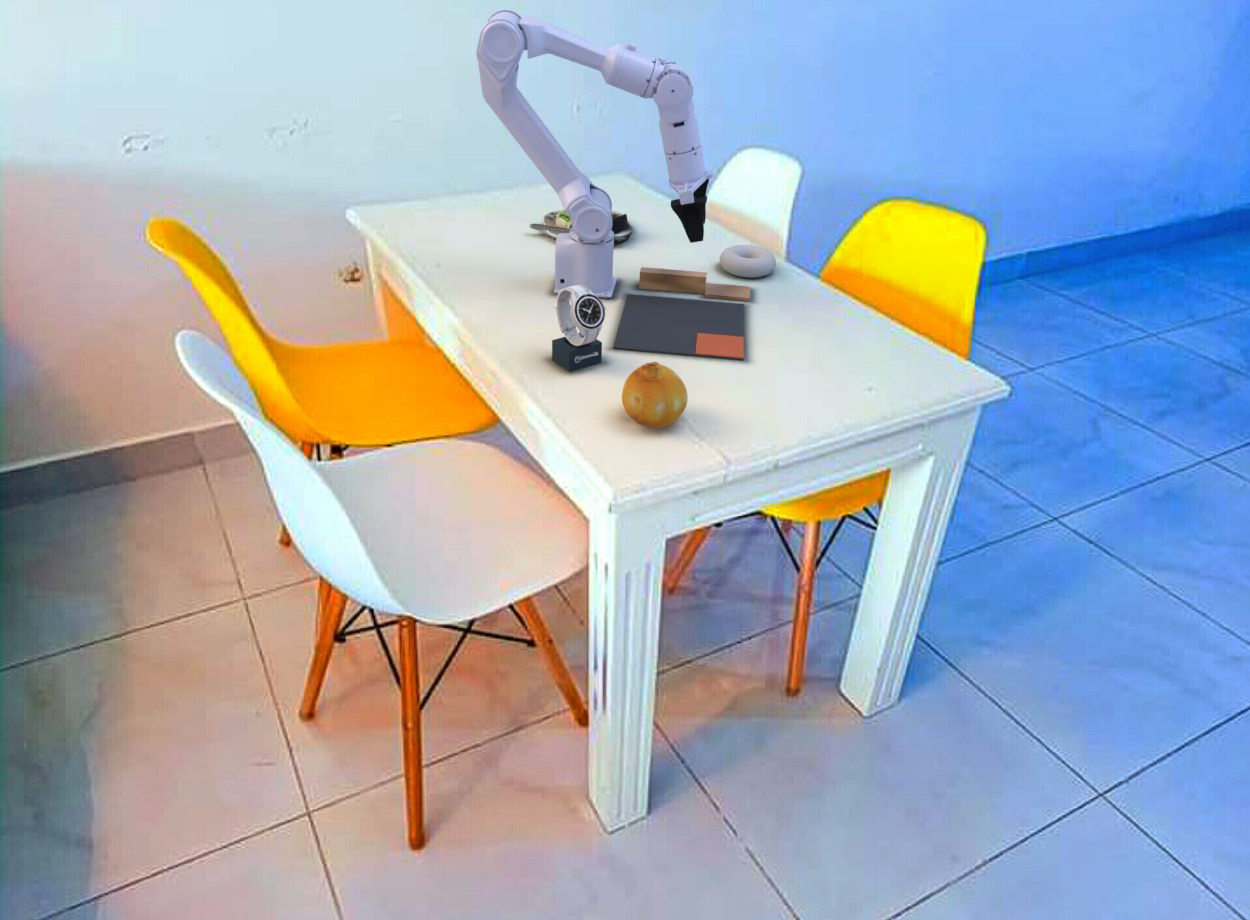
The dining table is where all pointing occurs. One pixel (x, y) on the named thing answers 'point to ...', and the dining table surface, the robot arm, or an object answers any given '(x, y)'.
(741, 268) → the donut
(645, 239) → the dining table surface
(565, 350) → the watch
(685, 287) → the spatula
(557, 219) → the salad plate
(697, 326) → the corner mat
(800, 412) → the dining table surface
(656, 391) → the fruit
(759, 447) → the dining table surface
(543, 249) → the dining table surface
